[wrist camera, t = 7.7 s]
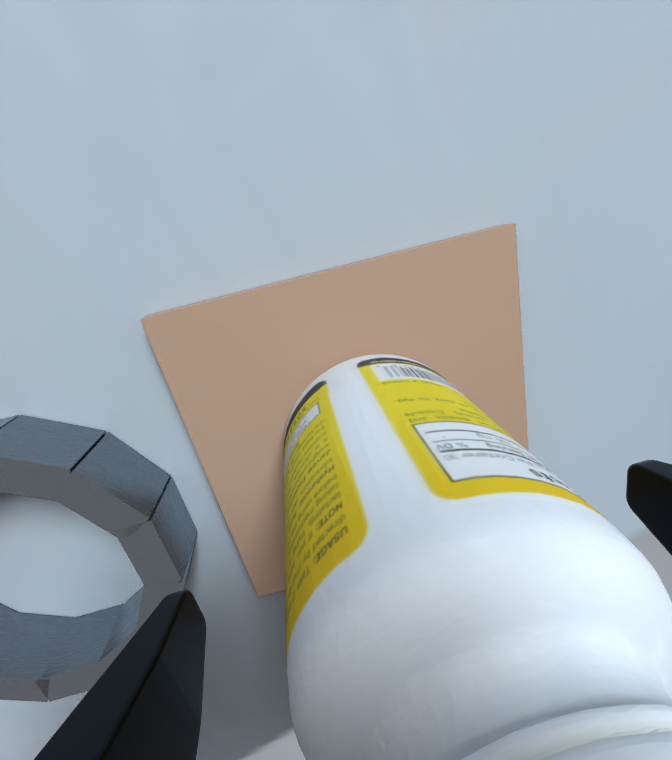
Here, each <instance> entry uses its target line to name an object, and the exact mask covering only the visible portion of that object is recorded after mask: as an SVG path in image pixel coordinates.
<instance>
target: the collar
mask: <svg viewBox="0 0 672 760" xmlns="http://www.w3.org/2000/svg"><path fill="white" fill-rule="evenodd" d="M105 434H106V431H104V430H98V429H93V428H88V427H83V426H77V425H72V424H67V423H61V422H56V421H51V420H45V419H40V418H35V417H29V416H24V415H20V416H19V415H17V416H13V417H9V418H5V419H1V420H0V493H7V494H14V495H20V496H27V497H34V498H41V499H47V500H54V501H58V502H60V503H61V504H63V505H65V506H66V507H68V508H69V509H71V510H73V511H74V512H76V513H78V514H79V515H81V516H83V517H84V518H86V519H88V520H89V521H91V522H93V523H94V524H96V525H98V526H99V527H101V528H103V529H104V530H106V531H108V532H109V533H111V534H113V535H114V536H116V537H117V538H118V539H119V541H120V543H121V545H122V546H123V548H124V550H125V552H126V553H127V555H128V557H129V559H130V561H131V562H132V564H133V566H134V568H135V569H136V571H137V573H138V575H139V576H140V578H141V580H142V582H143V583H144V586H143V587H142V588H141V589H140V590H139V591H138V592H137V593H136V594H135V595H134V596H132V597H131V598H130V599H129V600H128V601H127V602H126V603H125V604H123V605H119V606H116V607H112V608H108V609H105V610H101V611H98V612H94V613H91V614H87V615H84V616H80V617H76V618H69V617H58V616H48V615H37V614H26V613H18V612H16V611H14V610H12V609H9V608H7V607H5V606H3V605H1V604H0V700H21V701H41V702H47V701H48V700H49V701H53V700H57V699H60V698H64V697H67V696H71V695H74V694H78V693H81V692H84V691H88V690H90V689H91V688H92V687H93V685H94V684H95V683H96V682H97V680H98V679H99V678H100V677H101V675H102V674H103V673H104V672H105V671H106V669H107V668H108V667H109V666H110V664H111V663H112V662H113V661H114V659H115V658H116V657H117V656H118V654H119V653H120V652H121V651H122V649H123V648H124V647H125V646H126V644H127V643H128V642H129V641H130V639H131V638H132V637H133V636H134V634H135V633H136V632H137V631H138V629H139V628H140V627H141V626H142V624H143V623H144V622H145V621H146V619H147V618H148V617H149V616H150V614H151V613H152V612H153V611H154V609H155V608H156V607H157V606H158V604H159V603H160V602H161V601H162V599H163V598H164V597H165V596H167V595H168V594H171V593H174V592H178V591H182V590H184V587H185V583H186V579H187V575H188V570H189V566H190V562H191V557H192V553H193V548H194V544H195V540H196V535H197V533H196V532H197V530H196V528H195V526H194V524H193V522H192V519H191V517H190V515H189V513H188V511H187V509H186V507H185V504H184V502H183V500H182V498H181V496H180V494H179V492H178V489H177V487H176V485H175V483H174V481H173V479H172V477H170V475H169V474H168V473H166V472H165V471H163V470H162V469H161V468H159V467H158V466H156V465H155V464H153V463H152V462H151V461H149V460H148V459H146V458H145V457H143V456H142V455H141V454H139V453H138V452H136V451H135V450H133V449H132V448H131V447H129V446H128V445H126V444H125V443H123V442H122V441H121V440H119V439H118V438H116V437H115V436H113V435H112V434H111V433H109V432H108V433H107V434H106V435H105ZM169 477H170V478H169Z"/></svg>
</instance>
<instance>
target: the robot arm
mask: <svg viewBox="0 0 672 760" xmlns="http://www.w3.org/2000/svg"><path fill="white" fill-rule="evenodd" d="M626 499H627V502H628V504H629V506H630V508H631V509H632V511H633V512H634V513H635V514H636V515H637V516H638V518H639V519H640V520H641V521H642V522H643V523H644V524H645V526H646V527H647V528H648V529H649V530H650V531H651V532H652V534H653V535H654V536H655V537H656V538H657V539H658V540H659V541H660V543H661V544H662V545H663V546H664V547H665V548H666V550H667V551H668V552H669V553H670V554H671V555H672V464H668V463H664V462H660V461H656V460H646V461H642V462H639V463H635V464H632V465H631V466H630V467H629V468H628V472H627V490H626ZM205 642H206V623H205V619H204V616H203V614H202V612H201V610H200V608H199V606H198V604H197V602H196V600H195V598H194V596H193V594H192V593H191V592H190V591H189V590H182V591H178V592H174V593H171V594H168V595H167V596H165V597H164V598H163V599H162V601H161V602H160V603H159V604H158V606H157V607H156V608H155V609H154V611H153V612H152V613H151V614H150V616H149V617H148V618H147V619H146V621H145V622H144V623H143V624H142V626H141V627H140V628H139V629H138V631H137V632H136V633H135V634H134V636H133V637H132V638H131V639H130V641H129V642H128V643H127V644H126V646H125V647H124V648H123V649H122V651H121V652H120V653H119V654H118V656H117V657H116V658H115V659H114V661H113V662H112V663H111V664H110V666H109V667H108V668H107V669H106V671H105V672H104V673H103V674H102V675H101V677H100V678H99V679H98V680H97V682H96V683H95V684H94V685H93V687H92V688H91V689H90V690H89V692H88V693H87V694H86V695H85V697H84V698H83V699H82V700H81V702H80V703H79V704H78V705H77V707H76V708H75V709H74V710H73V712H72V713H71V714H70V715H69V717H68V718H67V719H66V720H65V722H64V723H63V724H62V725H61V727H60V728H59V729H58V730H57V732H56V733H55V734H54V735H53V737H52V738H51V739H50V740H49V742H48V743H47V744H46V745H45V747H44V748H43V749H42V750H41V752H40V753H39V754H38V755H37V756H36V758H35V759H34V760H196V754H197V747H198V740H199V732H200V724H201V712H202V696H203V678H204V660H205Z"/></svg>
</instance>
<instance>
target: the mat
mask: <svg viewBox="0 0 672 760" xmlns="http://www.w3.org/2000/svg"><path fill="white" fill-rule="evenodd" d="M140 321H141V323H142V325H143V328H144V330H145V332H146V335H147V337H148V339H149V342H150V344H151V346H152V349H153V351H154V353H155V356H156V358H157V360H158V363H159V365H160V368H161V370H162V372H163V375H164V377H165V379H166V382H167V384H168V386H169V389H170V391H171V393H172V396H173V398H174V400H175V403H176V405H177V407H178V410H179V412H180V414H181V417H182V419H183V422H184V424H185V426H186V429H187V431H188V433H189V436H190V438H191V440H192V443H193V445H194V447H195V450H196V452H197V454H198V457H199V459H200V461H201V464H202V466H203V468H204V471H205V473H206V475H207V478H208V480H209V483H210V485H211V487H212V490H213V492H214V494H215V497H216V499H217V501H218V504H219V506H220V508H221V511H222V513H223V515H224V518H225V520H226V522H227V525H228V527H229V529H230V532H231V534H232V537H233V539H234V541H235V544H236V546H237V548H238V551H239V553H240V555H241V558H242V560H243V562H244V565H245V567H246V569H247V572H248V574H249V576H250V579H251V581H252V583H253V586H254V588H255V591H256V593H257V595H258V597H261V596H265V595H269V594H272V593H276V592H279V591H283V590H286V573H285V496H284V471H283V462H284V436H285V430H286V425H287V421H288V418H289V416H290V413H291V411H292V409H293V407H294V405H295V403H296V401H297V400H298V398H299V397H300V396H301V394H302V393H303V392H304V390H305V389H306V388H307V387H308V386H309V385H310V384H311V383H312V382H313V381H314V380H315V379H316V378H317V377H319V376H320V375H321V374H323V373H324V372H326V371H327V370H329V369H330V368H332V367H334V366H336V365H338V364H340V363H342V362H345V361H347V360H350V359H353V358H357V357H361V356H366V355H375V354H388V355H396V356H402V357H406V358H409V359H412V360H415V361H418V362H420V363H422V364H424V365H426V366H428V367H429V368H431V369H432V370H434V371H435V372H437V373H438V374H440V375H441V376H442V377H444V378H445V379H446V380H447V381H448V382H449V383H450V384H452V385H453V386H454V387H455V388H456V389H457V390H458V391H460V392H461V393H462V394H463V395H464V396H465V397H466V398H467V399H469V400H470V401H471V402H472V403H473V404H475V405H476V406H477V407H478V408H479V409H480V410H481V411H483V412H484V413H485V414H486V415H487V416H488V417H489V418H491V419H492V420H493V421H494V422H495V423H496V424H497V425H499V426H500V427H501V428H502V429H503V430H504V431H506V432H507V433H508V434H509V435H510V436H511V437H512V438H514V439H515V440H516V441H517V442H518V443H519V444H520V445H522V446H523V447H524V448H525V449H526V450H528V436H527V419H526V401H525V384H524V366H523V349H522V331H521V314H520V296H519V279H518V261H517V244H516V226H515V224H506V225H500V226H496V227H492V228H488V229H484V230H480V231H476V232H473V233H469V234H465V235H461V236H457V237H453V238H449V239H445V240H441V241H437V242H433V243H429V244H425V245H421V246H418V247H414V248H410V249H406V250H402V251H398V252H394V253H390V254H386V255H382V256H378V257H374V258H370V259H367V260H363V261H359V262H355V263H351V264H347V265H343V266H339V267H335V268H331V269H327V270H323V271H319V272H316V273H312V274H308V275H304V276H300V277H296V278H292V279H288V280H284V281H280V282H276V283H272V284H268V285H264V286H261V287H257V288H253V289H249V290H245V291H241V292H237V293H233V294H229V295H225V296H221V297H217V298H213V299H210V300H206V301H202V302H198V303H194V304H190V305H186V306H182V307H178V308H174V309H170V310H166V311H162V312H159V313H155V314H151V315H147V316H146V317H144V318H142V319H140Z"/></svg>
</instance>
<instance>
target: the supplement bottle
mask: <svg viewBox="0 0 672 760" xmlns="http://www.w3.org/2000/svg"><path fill="white" fill-rule="evenodd" d="M283 471H284V496H285V573H286V666H287V679H288V692H289V705H290V715H291V719H292V723H293V727H294V731H295V734H296V737H297V740H298V743H299V746H300V747H301V750H302V752H303V754H304V756H305V758H306V760H672V602H671V599H670V597H669V595H668V593H667V591H666V589H665V587H664V585H663V583H662V581H661V579H660V577H659V576H658V574H657V573H656V571H655V570H654V568H653V567H652V566H651V564H650V563H649V562H648V560H647V559H646V558H645V557H644V556H643V554H642V553H641V552H640V551H639V550H638V549H637V548H636V547H635V546H634V545H633V544H632V543H631V542H630V541H629V540H628V539H627V538H626V537H625V536H624V535H623V534H622V533H621V532H620V531H619V530H618V529H616V528H615V527H614V526H613V525H612V524H611V523H610V522H609V521H608V520H607V519H606V518H604V517H603V516H602V515H601V514H600V513H599V512H598V511H596V510H595V509H594V508H593V507H592V506H591V505H590V504H589V503H587V502H586V501H585V500H584V499H582V498H581V497H580V496H579V495H578V494H577V493H576V492H574V491H573V490H572V489H571V488H570V487H569V486H567V485H566V484H565V483H564V482H563V481H562V480H561V479H559V478H558V477H557V476H556V475H555V474H553V473H552V472H551V471H550V470H549V469H548V468H547V467H545V466H544V465H543V464H542V463H541V462H540V461H539V460H538V459H536V458H535V457H534V456H533V455H532V454H531V453H530V452H529V451H528V450H526V449H525V448H524V447H523V446H522V445H520V444H519V443H518V442H517V441H516V440H515V439H514V438H512V437H511V436H510V435H509V434H508V433H507V432H506V431H504V430H503V429H502V428H501V427H500V426H499V425H497V424H496V423H495V422H494V421H493V420H492V419H491V418H489V417H488V416H487V415H486V414H485V413H484V412H483V411H481V410H480V409H479V408H478V407H477V406H476V405H475V404H473V403H472V402H471V401H470V400H469V399H467V398H466V397H465V396H464V395H463V394H462V393H461V392H460V391H458V390H457V389H456V388H455V387H454V386H453V385H452V384H450V383H449V382H448V381H447V380H446V379H445V378H444V377H442V376H441V375H440V374H438V373H437V372H435V371H434V370H432V369H431V368H429V367H428V366H426V365H424V364H422V363H420V362H418V361H415V360H412V359H409V358H406V357H402V356H396V355H388V354H375V355H366V356H361V357H357V358H353V359H350V360H347V361H345V362H342V363H340V364H338V365H336V366H334V367H332V368H330V369H329V370H327V371H326V372H324V373H323V374H321V375H320V376H319V377H317V378H316V379H315V380H314V381H313V382H312V383H311V384H310V385H309V386H308V387H307V388H306V389H305V390H304V392H303V393H302V394H301V396H300V397H299V398H298V400H297V401H296V403H295V405H294V407H293V409H292V411H291V413H290V416H289V418H288V421H287V425H286V430H285V436H284V462H283Z"/></svg>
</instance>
